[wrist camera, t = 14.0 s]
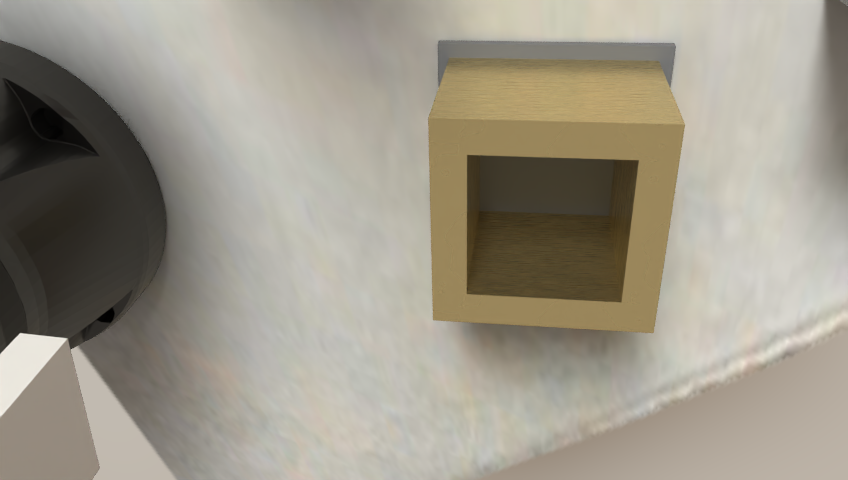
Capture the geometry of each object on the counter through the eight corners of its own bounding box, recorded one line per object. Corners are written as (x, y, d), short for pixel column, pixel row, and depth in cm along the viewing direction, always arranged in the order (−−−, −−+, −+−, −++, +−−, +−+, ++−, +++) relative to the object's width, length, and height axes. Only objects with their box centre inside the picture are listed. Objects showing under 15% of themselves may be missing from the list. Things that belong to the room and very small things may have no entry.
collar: (451, 234, 35) (433, 320, 29) (449, 57, 31) (428, 118, 25) (635, 242, 34) (653, 332, 28) (658, 60, 30) (685, 124, 24)
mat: (442, 238, 35) (441, 242, 35) (439, 40, 31) (438, 43, 31) (646, 247, 34) (647, 251, 34) (674, 43, 30) (675, 46, 29)
